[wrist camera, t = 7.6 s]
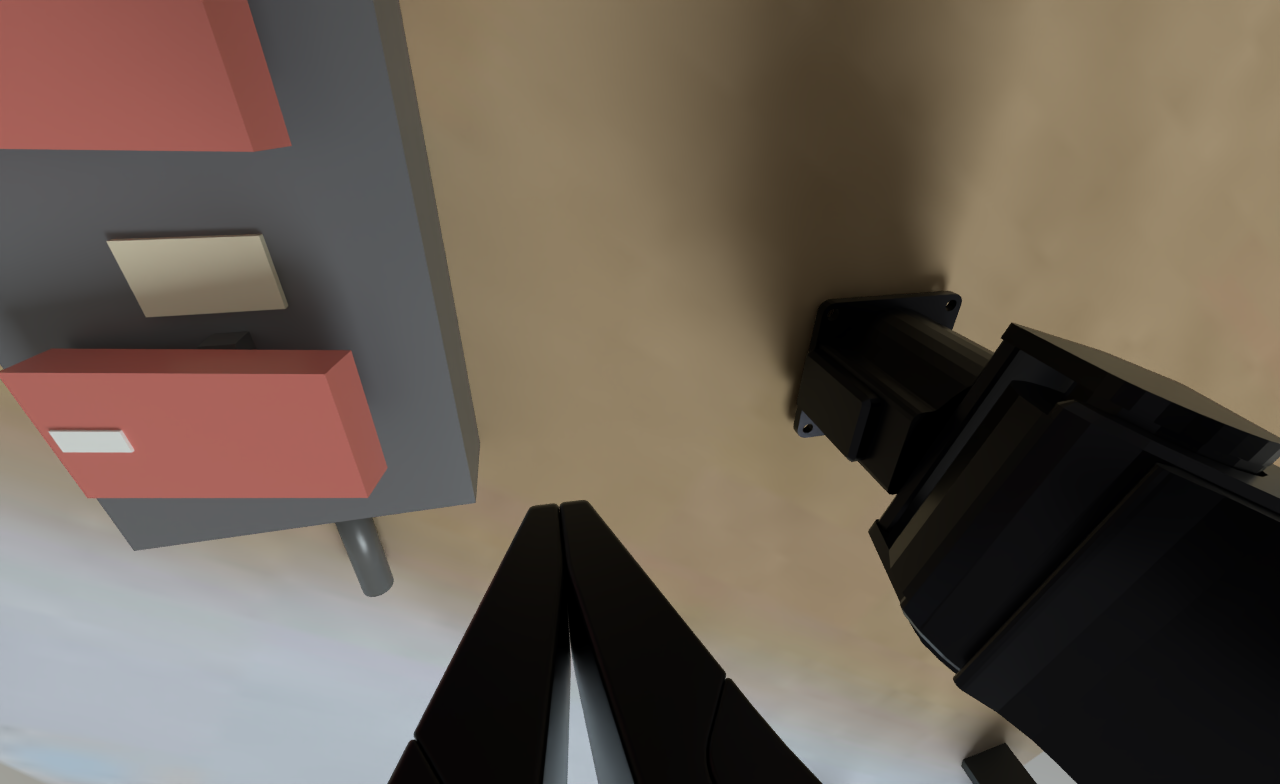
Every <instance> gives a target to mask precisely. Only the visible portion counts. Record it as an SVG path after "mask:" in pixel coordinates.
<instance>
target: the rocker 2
mask: <svg viewBox="0 0 1280 784" xmlns="http://www.w3.org/2000/svg"><path fill="white" fill-rule="evenodd" d="M0 378H1V380H2V381H3V383H4V384H5V385H6V387H7V388H8V389H9V391H10V392H11V394H12V395H13V396H14V398H15V399H16V400H17V402H18V403H19V405H20V406H21V407H22V409H23V410H24V411H25V413H26V414H27V416H28V417H29V418H30V420H31V421H32V422H33V424H34V425H35V427H36V428H37V429H38V431H39V432H40V433H41V435H42V436H43V437H44V439H45V440H46V442H47V443H48V444H49V446H50V447H51V448H52V450H53V451H54V453H55V454H56V455H57V457H58V458H59V459H60V461H61V462H62V464H63V465H64V466H65V468H66V469H67V470H68V472H69V473H70V475H71V476H72V477H73V479H74V480H75V481H76V483H77V484H78V486H79V487H80V488H81V490H82V491H83V492H84V494H85V495H86V497H87V498H368V497H369V496H370V494H371V493H372V491H373V490H374V488H375V487H376V485H377V483H378V482H379V480H380V479H381V477H382V476H383V474H384V473H385V471H386V470H387V468H388V467H387V464H386V461H385V458H384V455H383V451H382V448H381V445H380V442H379V438H378V435H377V432H376V429H375V426H374V422H373V419H372V416H371V413H370V409H369V406H368V403H367V400H366V396H365V393H364V390H363V387H362V384H361V380H360V377H359V374H358V371H357V367H356V364H355V361H354V358H353V355H352V351H351V350H223V349H49V350H47V351H45V352H42V353H40V354H38V355H36V356H33V357H31V358H29V359H26V360H24V361H22V362H20V363H17V364H15V365H13V366H11V367H8V368H6V369H4V370H1V371H0Z"/></svg>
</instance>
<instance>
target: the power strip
mask: <svg viewBox="0 0 1280 784" xmlns="http://www.w3.org/2000/svg"><path fill="white" fill-rule="evenodd" d="M247 1H248V4H249V8H250V11H251V14H252V17H253V21H254V24H255V27H256V30H257V34H258V37H259V40H260V43H261V47H262V50H263V53H264V57H265V60H266V63H267V66H268V70H269V73H270V76H271V79H272V83H273V86H274V89H275V92H276V96H277V99H278V102H279V106H280V109H281V112H282V115H283V119H284V122H285V125H286V128H287V132H288V135H289V138H290V141H291V145H292V146H288V147H281V148H275V149H269V150H262V151H256V152H223V151H136V150H49V149H0V365H1V366H2V367H3V369H6V368H8V367H11V366H13V365H15V364H17V363H20V362H22V361H24V360H26V359H29V358H31V357H33V356H36V355H38V354H40V353H42V352H45V351H47V350H49V349H223V350H351V351H352V355H353V358H354V361H355V364H356V367H357V371H358V374H359V377H360V380H361V384H362V387H363V390H364V393H365V396H366V400H367V403H368V406H369V409H370V413H371V416H372V419H373V422H374V426H375V429H376V432H377V435H378V438H379V442H380V445H381V448H382V451H383V455H384V458H385V461H386V464H387V467H388V468H387V470H386V471H385V473H384V474H383V476H382V477H381V479H380V480H379V482H378V483H377V485H376V487H375V488H374V490H373V491H372V493H371V494H370V496H369V497H368V498H97V500H98V501H99V503H100V504H101V505H102V507H103V508H104V510H105V511H106V512H107V514H108V515H109V517H110V518H111V519H112V521H113V522H114V524H115V525H116V526H117V528H118V529H119V531H120V532H121V533H122V535H123V536H124V537H125V539H126V540H127V542H128V543H129V544H130V546H131V547H132V549H133V550H134V551H136V550H143V549H151V548H158V547H165V546H172V545H179V544H186V543H193V542H200V541H207V540H214V539H222V538H229V537H236V536H243V535H250V534H257V533H264V532H271V531H278V530H286V529H293V528H300V527H307V526H314V525H321V524H328V523H335V524H336V526H337V529H338V531H339V534H340V536H341V539H342V541H343V544H344V546H345V549H346V551H347V553H348V556H349V558H350V561H351V563H352V566H353V568H354V571H355V573H356V576H357V578H358V580H359V583H360V585H361V588H362V590H363V593H364V594H365V595H366V596H369V597H376V596H379V595H382V594H384V593H385V592H387V591H388V590H389V589H390V588H391V587H392V585H393V582H394V579H393V576H392V573H391V570H390V567H389V564H388V562H387V559H386V556H385V553H384V550H383V547H382V545H381V542H380V539H379V536H378V533H377V530H376V528H375V525H374V522H373V519H372V517H378V516H385V515H392V514H399V513H406V512H413V511H421V510H428V509H435V508H442V507H449V506H456V505H463V504H470V503H476V492H477V478H478V464H479V451H480V440H479V435H478V429H477V424H476V418H475V413H474V408H473V402H472V397H471V391H470V386H469V380H468V375H467V369H466V364H465V359H464V353H463V348H462V342H461V337H460V331H459V326H458V320H457V315H456V310H455V304H454V299H453V293H452V288H451V282H450V277H449V271H448V266H447V261H446V255H445V250H444V244H443V239H442V233H441V228H440V222H439V217H438V212H437V206H436V201H435V195H434V190H433V184H432V179H431V173H430V168H429V163H428V157H427V152H426V146H425V141H424V135H423V130H422V125H421V119H420V114H419V108H418V103H417V97H416V92H415V86H414V81H413V76H412V70H411V65H410V59H409V54H408V48H407V43H406V37H405V32H404V27H403V21H402V16H401V10H400V5H399V0H247Z"/></svg>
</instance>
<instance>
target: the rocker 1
mask: <svg viewBox="0 0 1280 784" xmlns="http://www.w3.org/2000/svg"><path fill="white" fill-rule="evenodd" d="M288 146H292V145H291V141H290V138H289V135H288V132H287V128H286V125H285V122H284V119H283V115H282V112H281V109H280V106H279V102H278V99H277V96H276V92H275V89H274V86H273V83H272V79H271V76H270V73H269V70H268V66H267V63H266V60H265V57H264V53H263V50H262V47H261V43H260V40H259V37H258V34H257V30H256V27H255V24H254V21H253V17H252V14H251V11H250V8H249V4H248V1H247V0H0V149H49V150H136V151H223V152H256V151H262V150H269V149H275V148H281V147H288Z"/></svg>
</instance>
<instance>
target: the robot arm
mask: <svg viewBox="0 0 1280 784" xmlns="http://www.w3.org/2000/svg"><path fill="white" fill-rule="evenodd" d="M948 302H949V303H948ZM947 303H948V305H947ZM961 303H962V299H961V296H960V295H958V294H956V293H954V292H952V291H939V292H925V293H912V294H898V295H884V296H870V297H856V298H843V299H830V300H826V301H825V302H823V303H822V304H821V305H820V306H819V308H818V310H817V314H816V319H815V324H814V328H813V333H812V338H811V343H810V348H809V352H808V354H807V356H806V360H805V365H804V369H803V374H802V379H801V384H800V389H799V394H798V399H797V405H798V406H797V411H796V416H795V420H794V430H795V431H796V433H797V434H798V435H799V436H800V437H804V438H807V437H814V436H822V435H826V437H827V438H828V439H829V440H830V441H831V442H832V443H833V444H834V445H835V446H836V447H837V448H838V449H839V450H840V452H841V453H842V454H843V455H844V456H845V457H846V458H847V459H848V460H849V461H851V462H854V461H858V462H859V463H860V464H861V465H862V466H863V467H864V468H865V469H866V470H867V471H868V472H869V473H870V475H871V476H872V477H873V478H874V479H875V480H876V481H877V482H878V483H879V484H880V485H881V486H882V487H883V488H884V489H885V490H886V491H887V492H888V493H889V494H892V495H893V494H897V495H896V496H895V498H894V499H893V501H892V502H891V504H890V505H889V506H888V508H887V509H886V511H885V512H884V514H883V515H882V517H881V518H880V519H877V520H876V521H875V522H874V523H873V525H872V526H871V528H870V529H869V531H868V532H869V535H870V537H871V539H872V541H873V544H874V546H875V548H876V550H877V552H878V555H879V557H880V559H881V561H882V563H883V566H884V568H885V570H886V572H887V574H888V577H889V579H890V581H891V583H892V585H893V588H894V590H895V592H896V594H897V596H898V599H899V601H900V606H901V608H902V611H903V613H904V615H905V617H906V618H907V619H908V620H909V622H910V624H911V626H912V627H913V629H914V631H915V633H916V634H917V635H918V636H919V638H920V640H921V642H922V643H923V644H924V645H925V646H926V647H927V648H928V649H929V650H930V651H931V652H932V653H933V654H934V655H935V656H936V657H937V658H938V659H939V660H940V661H941V662H942V663H944V664H945V665H946V666H947V667H948V668H949V669H951V670H952V671H953V672H954V673H956V675H955V676H954V677H953V680H954V683H955V684H956V685H957V686H958V687H959V689H961V690H962V691H964V692H965V693H967V694H969V695H970V696H972V697H973V698H975V699H977V700H978V701H980V702H981V703H983V704H985V705H986V706H988V707H989V708H991V709H993V710H994V711H996V712H997V713H999V714H1000V715H1001V716H1002V717H1004V718H1005V719H1006V720H1007V721H1009V722H1010V723H1011V724H1012V725H1014V726H1015V727H1016V728H1018V729H1019V730H1020V731H1021V732H1023V733H1024V734H1025V735H1026V736H1028V737H1029V738H1030V739H1031V740H1033V741H1034V742H1035V743H1036V744H1037V745H1038V746H1039V747H1040V748H1041V749H1042V750H1043V751H1044V752H1045V753H1047V754H1048V755H1049V756H1050V757H1051V758H1052V759H1053V760H1054V761H1055V762H1056V763H1057V764H1058V765H1059V766H1060V767H1061V768H1062V769H1063V770H1064V771H1065V772H1066V773H1067V774H1068V775H1069V776H1070V777H1071V778H1072V779H1073V780H1074V781H1075V782H1076V783H1077V784H1280V467H1278V466H1276V465H1274V464H1273V463H1274V462H1275V461H1276V460H1277V459H1278V458H1279V457H1280V438H1279V437H1277V436H1276V435H1274V434H1272V433H1270V432H1268V431H1267V430H1265V429H1263V428H1261V427H1259V426H1258V425H1256V424H1254V423H1252V422H1250V421H1249V420H1247V419H1245V418H1243V417H1241V416H1240V415H1238V414H1236V413H1234V412H1232V411H1231V410H1229V409H1227V408H1225V407H1223V406H1221V405H1220V404H1218V403H1216V402H1214V401H1212V400H1211V399H1209V398H1207V397H1205V396H1203V395H1202V394H1200V393H1198V392H1196V391H1194V390H1193V389H1191V388H1189V387H1187V386H1185V385H1183V384H1181V383H1179V382H1177V381H1174V380H1172V379H1169V378H1167V377H1165V376H1162V375H1160V374H1157V373H1155V372H1152V371H1150V370H1148V369H1145V368H1143V367H1140V366H1138V365H1135V364H1133V363H1131V362H1128V361H1126V360H1123V359H1121V358H1118V357H1116V356H1113V355H1111V354H1109V353H1106V352H1103V351H1101V350H1098V349H1095V348H1091V347H1088V346H1085V345H1082V344H1079V343H1076V342H1072V341H1069V340H1066V339H1063V338H1060V337H1057V336H1053V335H1050V334H1047V333H1044V332H1041V331H1038V330H1034V329H1031V328H1028V327H1025V326H1022V325H1019V324H1015V323H1012V322H1011V324H1010V325H1009V327H1008V328H1007V330H1006V331H1005V333H1004V334H1003V335H1002V337H1001V339H1003V341H1002V343H1001V344H1000V346H999V347H998V348H997V350H996V351H995V353H994V352H992V351H990V350H988V349H987V348H985V347H983V346H981V345H979V344H977V343H975V342H973V341H971V340H970V339H968V338H966V337H964V336H962V335H960V334H958V333H956V332H955V331H953V330H952V329H953V326H954V323H955V320H956V318H957V315H958V312H959V309H960V306H961ZM946 305H947V306H946ZM832 309H834V311H833V314H832V315H831V316H829V317H828V313H829V312H830V311H831V310H832ZM807 424H808V425H807ZM805 425H807V426H806V427H805V428H804V426H805ZM559 511H560V512H559ZM568 621H569V622H568ZM569 633H570V637H569ZM570 643H571V651H572V659H573V664H574V670H575V675H576V680H577V685H578V689H579V694H580V699H581V704H582V708H583V713H584V718H585V723H586V727H587V732H588V737H589V742H590V746H591V751H592V756H593V761H594V765H595V770H596V775H597V780H598V784H822V783H821V782H820V781H819V780H818V778H817V777H816V776H815V775H814V774H813V773H812V772H811V771H810V770H809V769H808V768H807V767H806V766H805V765H804V764H803V763H802V761H801V760H800V759H799V758H798V757H797V756H796V755H795V754H794V753H793V752H792V751H791V750H790V749H789V748H788V747H787V746H786V744H785V743H784V742H783V741H782V740H781V738H780V737H779V736H778V735H777V734H776V733H775V731H774V730H773V729H772V728H771V727H770V726H769V724H768V723H767V722H766V721H765V720H764V718H763V717H762V716H761V715H760V714H759V713H758V711H757V710H756V709H755V708H754V707H753V706H752V704H751V703H750V702H749V701H748V699H747V698H746V697H745V696H744V694H743V693H742V692H741V691H740V689H739V688H738V687H737V686H736V684H735V683H734V682H733V681H732V679H730V678H726V673H725V671H724V670H723V669H722V667H721V666H720V665H719V664H718V662H717V661H716V660H715V659H714V657H713V656H712V655H711V654H710V652H709V651H708V650H707V649H706V647H705V646H704V645H703V644H702V643H701V641H700V640H699V639H698V638H697V636H696V635H695V634H694V633H693V631H692V630H691V629H690V628H689V626H688V625H687V624H686V623H685V621H684V620H683V619H682V618H681V616H680V615H679V614H678V613H677V611H676V610H675V609H674V608H673V606H672V605H671V604H670V603H669V601H668V600H667V599H666V598H665V596H664V595H663V594H662V593H661V591H660V590H659V589H658V588H657V587H656V585H655V584H654V583H653V582H652V580H651V579H650V578H649V577H648V575H647V574H646V573H645V572H644V570H643V569H642V568H641V567H640V565H639V564H638V563H637V562H636V560H635V559H634V558H633V557H632V555H631V554H630V553H629V552H628V550H627V549H626V548H625V547H624V545H623V544H622V543H621V542H620V540H619V539H618V538H617V537H616V535H615V534H614V533H613V532H612V530H611V529H610V528H609V527H608V526H607V524H606V523H605V522H604V521H603V519H602V518H601V517H600V516H599V514H598V513H597V512H596V511H595V509H594V508H593V507H592V506H591V504H590V503H589V502H588V501H586V500H578V501H570V502H563V503H561V504H560V507H559V506H558V505H557V504H554V503H553V504H545V505H536V506H532V507H531V508H530V509H529V510H528V512H527V514H526V516H525V518H524V519H523V521H522V523H521V525H520V527H519V529H518V531H517V533H516V535H515V537H514V539H513V541H512V543H511V545H510V547H509V549H508V551H507V553H506V554H505V556H504V558H503V560H502V562H501V564H500V566H499V568H498V570H497V572H496V574H495V576H494V578H493V580H492V582H491V584H490V586H489V588H488V590H487V591H486V593H485V595H484V597H483V599H482V601H481V603H480V605H479V607H478V609H477V611H476V613H475V615H474V617H473V619H472V621H471V623H470V625H469V627H468V628H467V630H466V632H465V634H464V636H463V638H462V640H461V642H460V644H459V646H458V648H457V650H456V652H455V654H454V656H453V658H452V660H451V662H450V664H449V665H448V667H447V669H446V671H445V673H444V675H443V677H442V679H441V681H440V683H439V685H438V687H437V689H436V691H435V693H434V695H433V697H432V699H431V700H430V702H429V704H428V706H427V708H426V710H425V712H424V714H423V716H422V718H421V720H420V722H419V724H418V726H417V728H416V730H415V732H414V738H415V740H411V741H410V742H409V743H408V745H407V747H406V748H405V750H404V752H403V754H402V756H401V758H400V760H399V762H398V764H397V766H396V768H395V770H394V772H393V774H392V776H391V778H390V780H389V782H388V783H387V784H567V773H568V741H569V709H570V677H571V654H570ZM725 678H726V679H725Z"/></svg>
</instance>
